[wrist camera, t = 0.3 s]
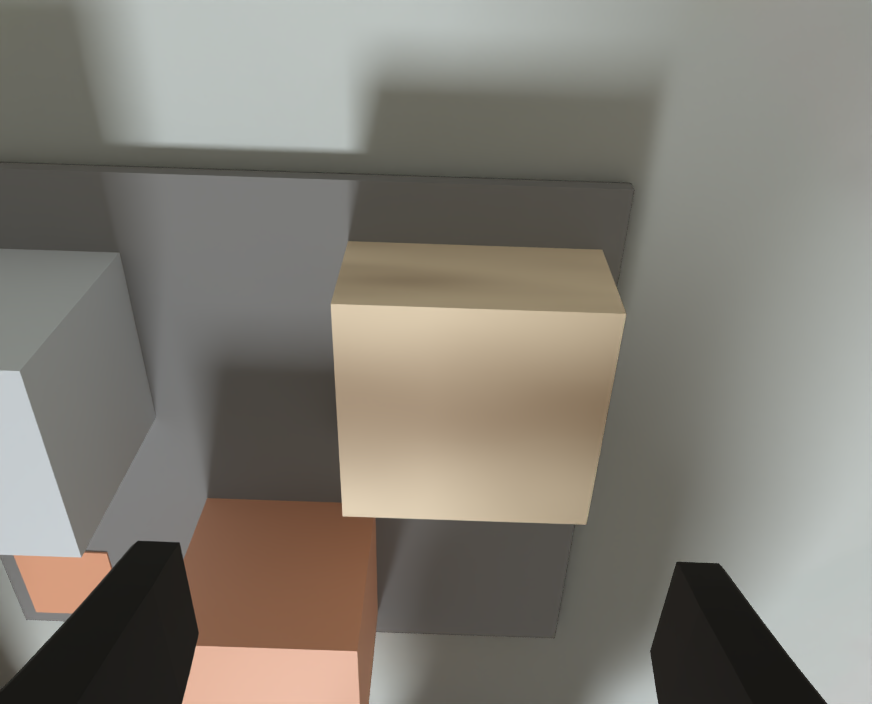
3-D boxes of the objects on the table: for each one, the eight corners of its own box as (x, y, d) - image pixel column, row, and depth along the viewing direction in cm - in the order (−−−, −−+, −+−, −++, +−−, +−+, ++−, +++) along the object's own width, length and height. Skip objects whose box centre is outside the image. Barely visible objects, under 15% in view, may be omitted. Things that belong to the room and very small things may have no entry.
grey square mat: (553, 627, 26) (554, 639, 26) (31, 609, 26) (25, 621, 26) (630, 183, 17) (634, 190, 17) (-153, 157, 17) (-166, 164, 17)
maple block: (570, 445, 21) (586, 524, 19) (355, 438, 21) (342, 516, 19) (602, 249, 18) (626, 313, 15) (348, 240, 18) (330, 303, 15)
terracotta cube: (377, 613, 25) (362, 763, 21) (228, 607, 25) (183, 756, 21) (375, 503, 23) (357, 651, 18) (206, 497, 23) (151, 644, 18)
